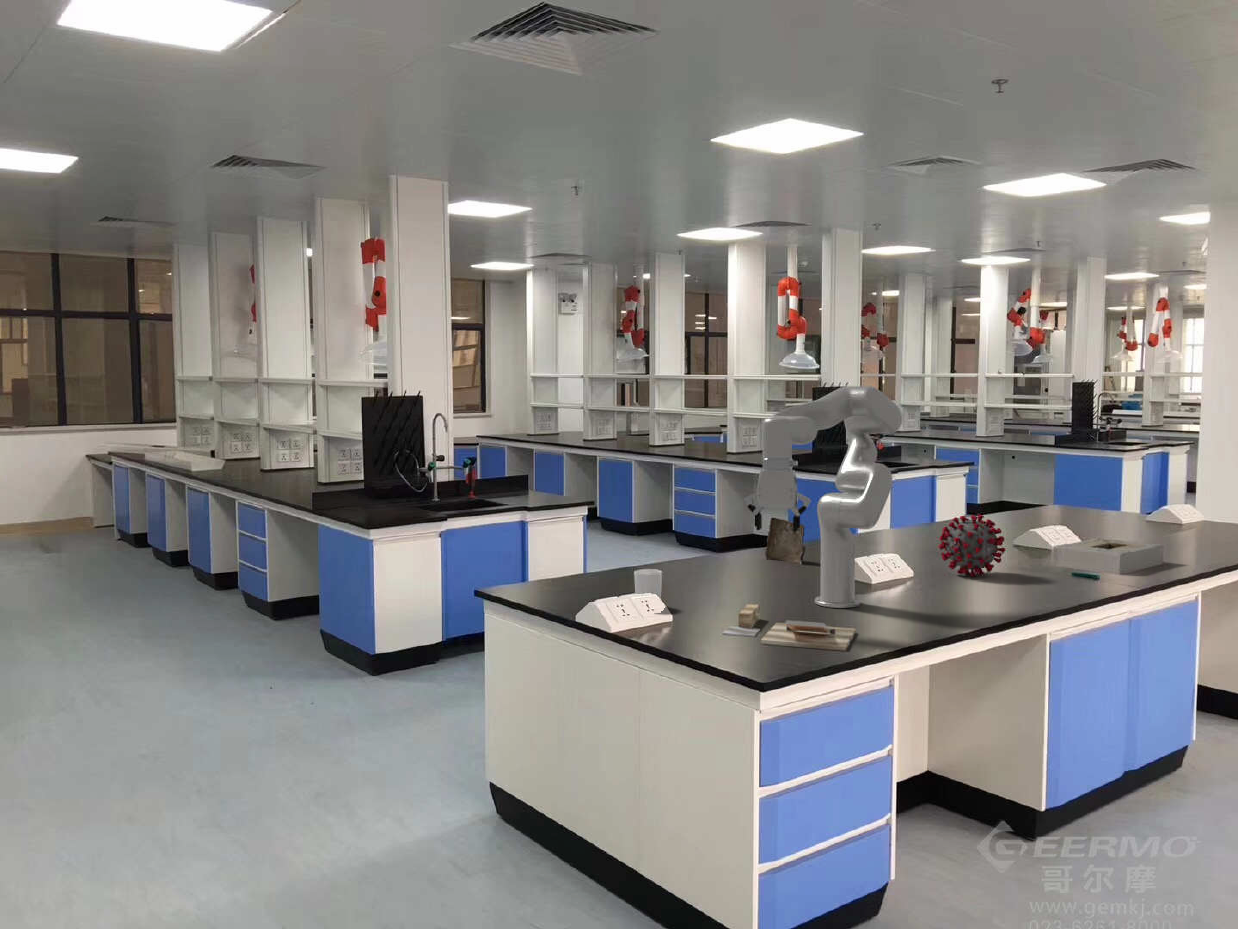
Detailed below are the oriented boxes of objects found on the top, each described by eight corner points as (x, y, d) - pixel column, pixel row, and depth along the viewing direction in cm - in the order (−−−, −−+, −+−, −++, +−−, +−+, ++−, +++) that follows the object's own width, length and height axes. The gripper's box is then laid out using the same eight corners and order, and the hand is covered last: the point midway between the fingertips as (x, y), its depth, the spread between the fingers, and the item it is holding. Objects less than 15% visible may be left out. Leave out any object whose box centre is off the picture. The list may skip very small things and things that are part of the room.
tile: (786, 620, 231) (785, 625, 231) (823, 623, 228) (823, 628, 228) (792, 625, 239) (792, 630, 239) (829, 628, 236) (828, 633, 236)
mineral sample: (764, 559, 348) (765, 517, 347) (772, 558, 350) (772, 516, 349) (802, 565, 335) (802, 522, 334) (809, 563, 338) (809, 521, 337)
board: (776, 626, 248) (776, 618, 247) (855, 632, 241) (855, 624, 240) (760, 643, 231) (760, 634, 231) (845, 651, 224) (845, 641, 224)
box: (1095, 556, 349) (1050, 566, 330) (1096, 535, 349) (1051, 544, 329) (1163, 566, 331) (1120, 577, 311) (1164, 544, 331) (1121, 553, 311)
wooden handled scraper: (739, 618, 258) (739, 603, 258) (768, 620, 255) (768, 605, 255) (722, 634, 240) (722, 619, 240) (754, 637, 238) (754, 621, 237)
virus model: (1014, 581, 303) (1016, 518, 301) (949, 581, 303) (950, 519, 302) (991, 569, 323) (992, 510, 322) (930, 570, 324) (931, 511, 322)
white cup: (661, 603, 277) (660, 568, 276) (663, 609, 269) (663, 574, 268) (633, 603, 276) (633, 569, 276) (635, 609, 269) (634, 574, 268)
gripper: (812, 464, 251) (812, 529, 252) (747, 463, 257) (748, 527, 258) (807, 466, 244) (807, 533, 245) (741, 465, 250) (741, 531, 251)
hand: (777, 530), depth 252 cm, fingers open, 9 cm apart
